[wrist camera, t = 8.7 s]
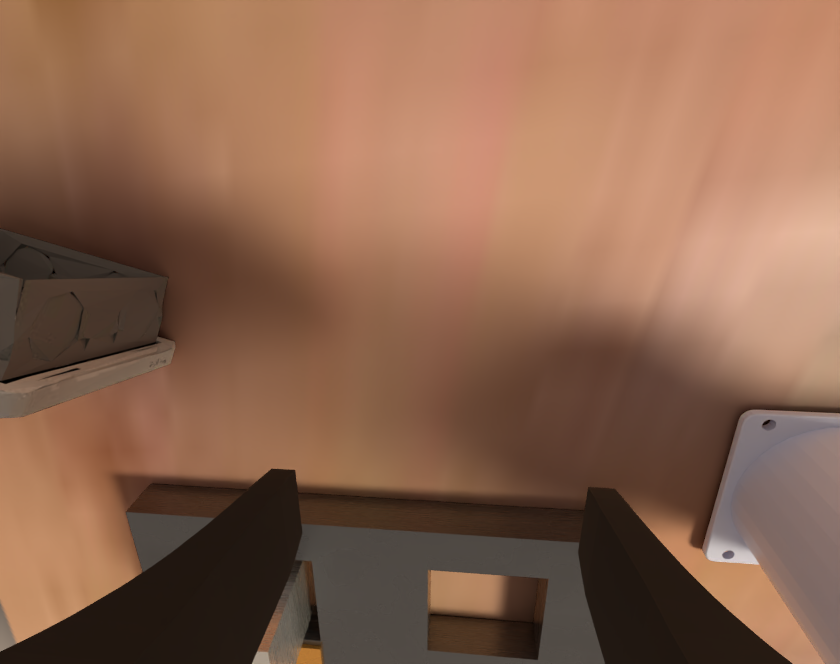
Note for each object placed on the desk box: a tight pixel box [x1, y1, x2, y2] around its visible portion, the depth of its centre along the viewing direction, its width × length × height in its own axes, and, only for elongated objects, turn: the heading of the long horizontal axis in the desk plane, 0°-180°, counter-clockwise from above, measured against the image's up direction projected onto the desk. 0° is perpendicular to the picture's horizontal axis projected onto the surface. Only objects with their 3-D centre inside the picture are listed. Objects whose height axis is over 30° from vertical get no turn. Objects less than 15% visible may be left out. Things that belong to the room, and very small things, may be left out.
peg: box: [252, 560, 316, 664], centre depth 24 cm, size 4×4×6 cm
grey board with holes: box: [126, 484, 605, 664], centre depth 25 cm, size 23×10×2 cm, turn 90°
